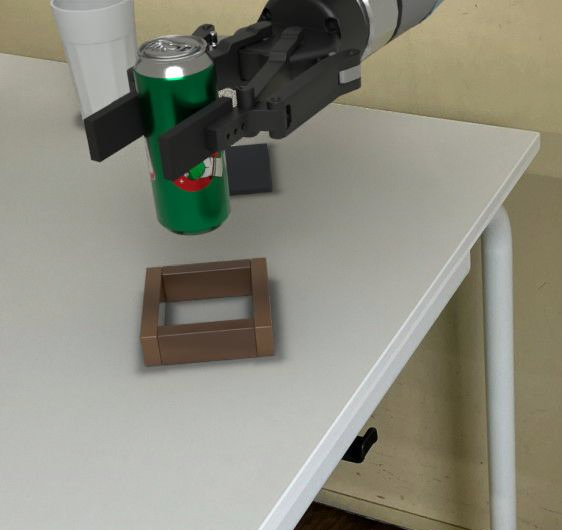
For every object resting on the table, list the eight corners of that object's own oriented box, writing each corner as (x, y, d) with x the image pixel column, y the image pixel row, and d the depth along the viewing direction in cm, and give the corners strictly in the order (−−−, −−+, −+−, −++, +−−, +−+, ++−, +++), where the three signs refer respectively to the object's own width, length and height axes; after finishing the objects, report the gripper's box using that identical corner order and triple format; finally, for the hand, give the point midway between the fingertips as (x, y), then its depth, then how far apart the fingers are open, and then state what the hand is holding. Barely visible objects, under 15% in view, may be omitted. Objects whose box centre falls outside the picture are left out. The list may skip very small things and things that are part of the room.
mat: (173, 155, 96) (172, 151, 95) (267, 146, 96) (267, 142, 95) (170, 200, 89) (169, 196, 88) (272, 191, 89) (271, 187, 88)
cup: (119, 137, 99) (96, 15, 92) (58, 124, 103) (32, 5, 96) (167, 106, 105) (149, -11, 97) (107, 95, 108) (86, -20, 101)
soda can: (177, 198, 71) (153, 29, 64) (243, 207, 69) (226, 34, 62) (144, 233, 68) (115, 58, 60) (213, 244, 66) (191, 65, 58)
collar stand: (151, 295, 77) (146, 267, 75) (268, 284, 77) (266, 256, 75) (145, 367, 70) (139, 337, 68) (274, 355, 70) (271, 326, 68)
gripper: (434, 92, 73) (257, 239, 59) (232, 55, 82) (32, 176, 67) (438, -13, 69) (246, 118, 54) (223, -41, 77) (6, 66, 62)
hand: (128, 149), depth 61 cm, fingers closed on soda can, 5 cm apart
